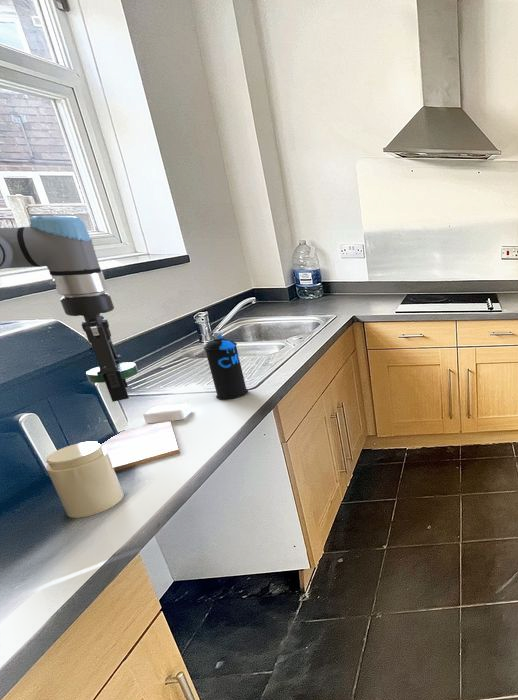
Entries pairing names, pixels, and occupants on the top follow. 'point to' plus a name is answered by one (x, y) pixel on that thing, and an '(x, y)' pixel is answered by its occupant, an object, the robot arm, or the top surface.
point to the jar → (84, 479)
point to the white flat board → (141, 445)
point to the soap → (167, 413)
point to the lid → (125, 368)
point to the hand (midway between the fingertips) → (120, 393)
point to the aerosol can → (225, 367)
